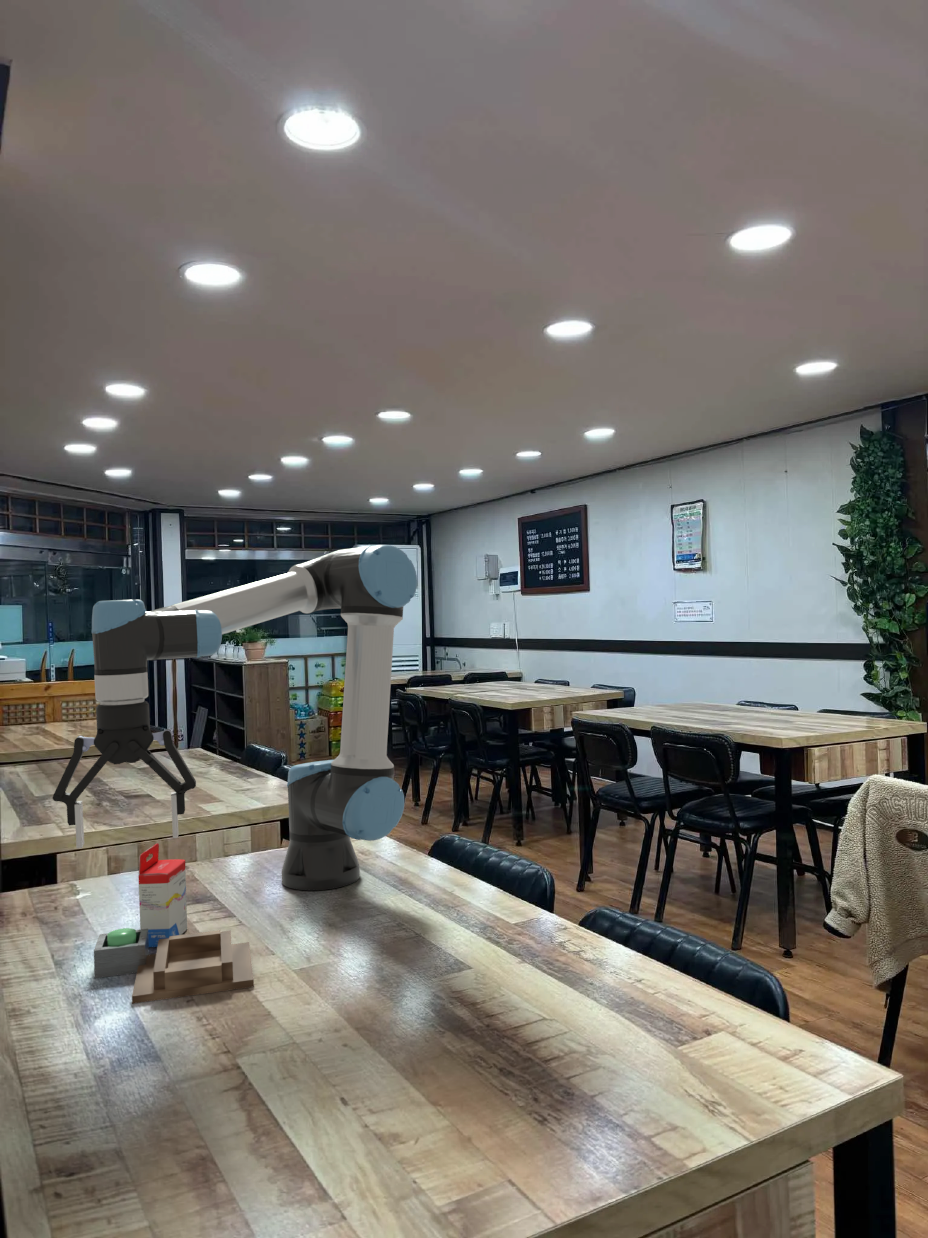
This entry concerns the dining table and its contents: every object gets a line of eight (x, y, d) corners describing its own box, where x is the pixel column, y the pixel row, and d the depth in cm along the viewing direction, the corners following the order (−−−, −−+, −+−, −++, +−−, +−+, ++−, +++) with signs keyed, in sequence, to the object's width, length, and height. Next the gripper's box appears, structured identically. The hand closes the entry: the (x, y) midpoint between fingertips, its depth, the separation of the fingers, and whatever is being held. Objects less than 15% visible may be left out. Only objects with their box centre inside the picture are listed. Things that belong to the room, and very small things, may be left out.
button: (137, 945, 136) (136, 927, 136) (135, 954, 132) (134, 936, 132) (109, 948, 134) (108, 930, 134) (106, 958, 131) (105, 939, 131)
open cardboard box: (249, 948, 139) (248, 926, 139) (253, 986, 124) (253, 962, 124) (140, 962, 134) (139, 939, 134) (132, 1003, 120) (131, 978, 120)
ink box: (170, 948, 140) (167, 855, 140) (139, 948, 140) (136, 855, 140) (188, 928, 148) (185, 841, 148) (159, 929, 149) (156, 841, 148)
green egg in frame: (148, 954, 137) (148, 928, 137) (145, 971, 131) (144, 944, 131) (100, 960, 136) (99, 934, 135) (94, 978, 129) (93, 951, 129)
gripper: (207, 694, 142) (213, 826, 142) (36, 704, 135) (43, 844, 135) (208, 698, 135) (214, 837, 135) (27, 710, 127) (34, 857, 128)
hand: (128, 841), depth 135 cm, fingers open, 13 cm apart
